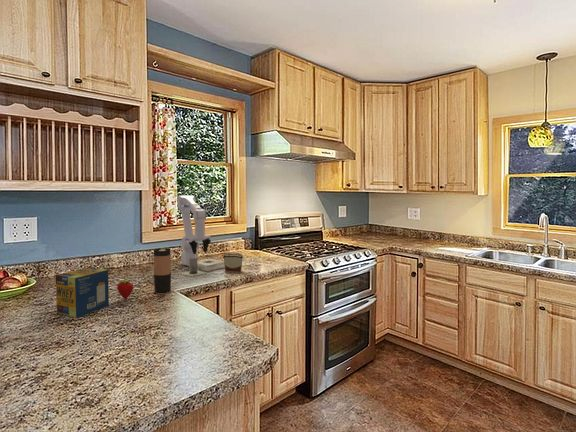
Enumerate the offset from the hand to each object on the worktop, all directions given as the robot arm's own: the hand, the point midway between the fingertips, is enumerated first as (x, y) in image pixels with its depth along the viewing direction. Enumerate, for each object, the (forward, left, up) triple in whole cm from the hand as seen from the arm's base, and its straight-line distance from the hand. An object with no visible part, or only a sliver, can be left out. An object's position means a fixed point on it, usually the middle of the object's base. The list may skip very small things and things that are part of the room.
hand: (199, 252), depth 208 cm
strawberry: (+18, -55, -11) cm, 59 cm away
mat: (+4, -8, -10) cm, 14 cm away
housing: (-1, +7, -10) cm, 13 cm away
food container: (+16, +12, -11) cm, 23 cm away
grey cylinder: (+4, -8, -10) cm, 13 cm away
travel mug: (+20, -38, -11) cm, 44 cm away
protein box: (+18, -72, -11) cm, 75 cm away
